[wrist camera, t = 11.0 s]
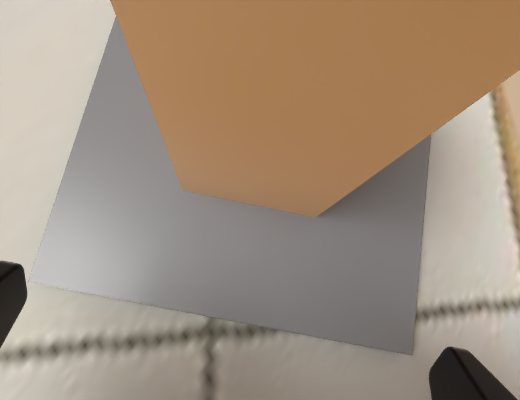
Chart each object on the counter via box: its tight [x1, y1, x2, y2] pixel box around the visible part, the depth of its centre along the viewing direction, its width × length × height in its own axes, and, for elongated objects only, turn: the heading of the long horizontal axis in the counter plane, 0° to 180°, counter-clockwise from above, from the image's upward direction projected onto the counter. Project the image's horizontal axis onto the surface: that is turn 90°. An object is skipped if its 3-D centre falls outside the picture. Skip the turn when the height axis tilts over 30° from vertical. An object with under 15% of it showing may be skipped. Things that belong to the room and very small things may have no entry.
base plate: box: [28, 17, 431, 355], centre depth 18 cm, size 16×16×1 cm
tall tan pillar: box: [110, 0, 520, 217], centre depth 11 cm, size 6×6×13 cm
